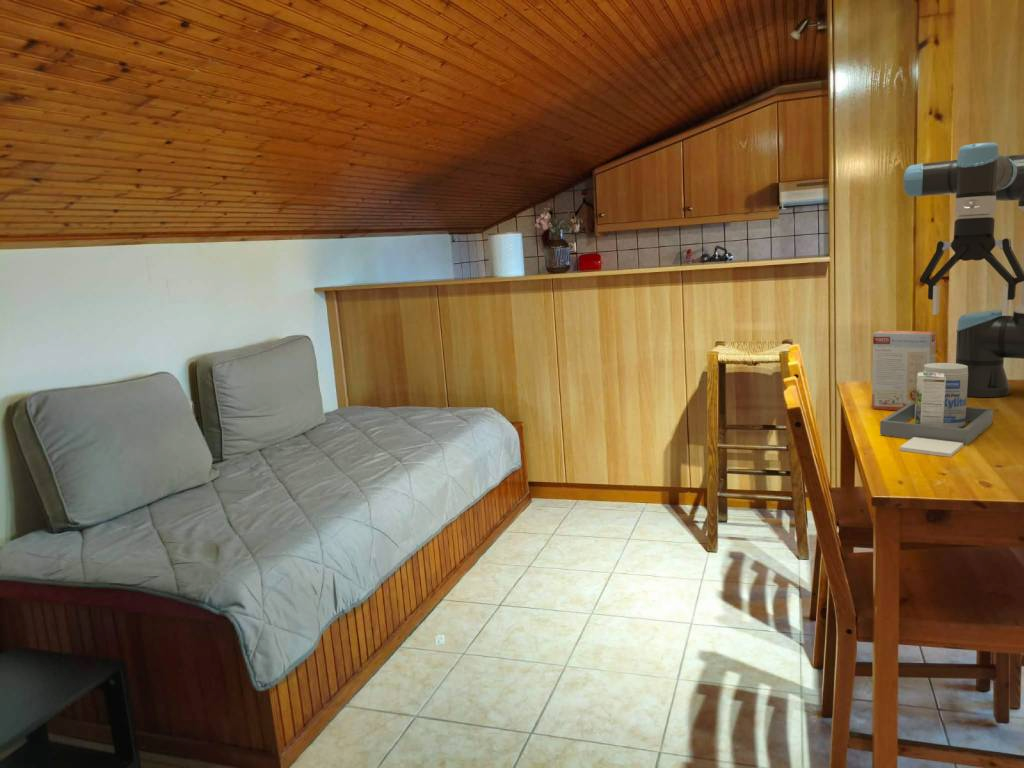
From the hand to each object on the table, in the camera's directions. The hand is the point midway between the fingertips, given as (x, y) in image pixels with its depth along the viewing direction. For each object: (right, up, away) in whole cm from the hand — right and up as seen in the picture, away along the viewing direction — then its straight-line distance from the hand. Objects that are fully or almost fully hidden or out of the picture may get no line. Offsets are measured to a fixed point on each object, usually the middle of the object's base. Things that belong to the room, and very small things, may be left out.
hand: (969, 314), depth 171 cm
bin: (-1, -26, +12) cm, 29 cm away
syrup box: (-5, -28, +7) cm, 29 cm away
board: (-10, -29, -3) cm, 31 cm away
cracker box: (+2, -22, +33) cm, 40 cm away
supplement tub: (+3, -26, +15) cm, 30 cm away
